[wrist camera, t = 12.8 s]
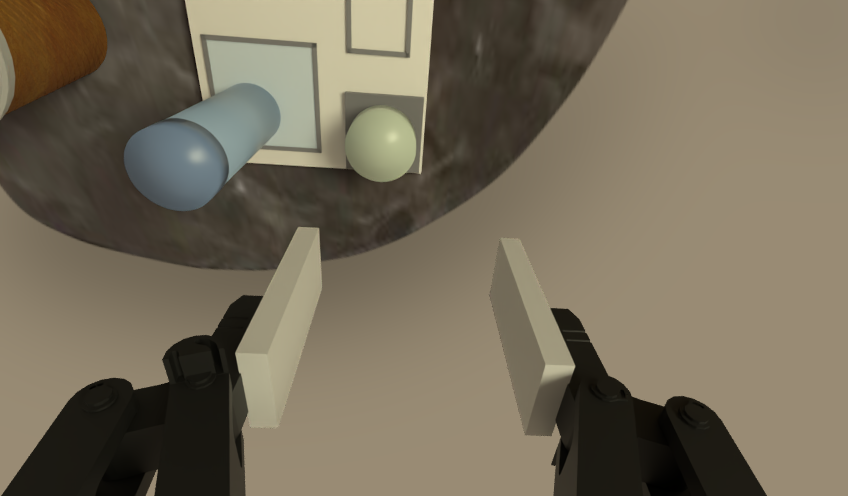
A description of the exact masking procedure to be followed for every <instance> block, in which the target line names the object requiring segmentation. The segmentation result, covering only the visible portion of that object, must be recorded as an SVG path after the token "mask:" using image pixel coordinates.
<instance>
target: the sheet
mask: <svg viewBox="0 0 848 496" xmlns="http://www.w3.org/2000/svg"><path fill="white" fill-rule="evenodd" d="M185 4H186V9H187V15H188V20H189V26H190V32H191V37H192V43H193V49H194V54H195V60H196V66H197V71H198V77H199V82H200V88H201V94H202V99H203V100H205V99H207V98H210V97H212V96H214V95H216V94H218V93H220V92H222V91H224V90H226V89H228V88H230V87H232V86H234V85H236V84H239V83H252V84H255V85H258V86H260V87H262V88H264V89H265V90H266V91H268V92H269V93H270V94H271V95H272V96H273V98H274V99H275V101H276V102H277V104H278V107H279V110H280V115H281V121H280V126H279V128H278V130H277V132H276V133H275V135H274V136H273V137H272V138H271V139H270V140H269V141H268V142H267V143H266V144H265V145H264V146H263V147H262V148H261V149H260V150H259V151H258V152H257V153H256V154H255V155H254V156H252V157H251V158H250V159H249V160H248V161H247V162H246V163H262V164H278V165H294V166H310V167H326V168H342V169H354V168H353V167H352V166H351V164H350V163H349V161H348V159H347V156H346V152H345V139H346V135H347V132H348V130H349V128H350V126H351V124H352V122H353V120H354V119H355V117H356V116H357V115H358V114H359V113H360V112H362V111H363V110H365V109H367V108H369V107H372V106H377V105H385V106H390V107H393V108H396V109H398V110H399V111H401V112H402V113H404V114H405V115H406V116H407V117H408V119H409V120H410V121H411V123H412V125H413V127H414V130H415V134H416V156H415V159H414V162H413V164H412V166H411V167H410V169H409V170H408V171H407V172H406V173H421V168H422V154H423V141H424V127H425V114H426V100H427V86H428V73H429V59H430V45H431V32H432V18H433V5H434V0H185Z"/></svg>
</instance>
